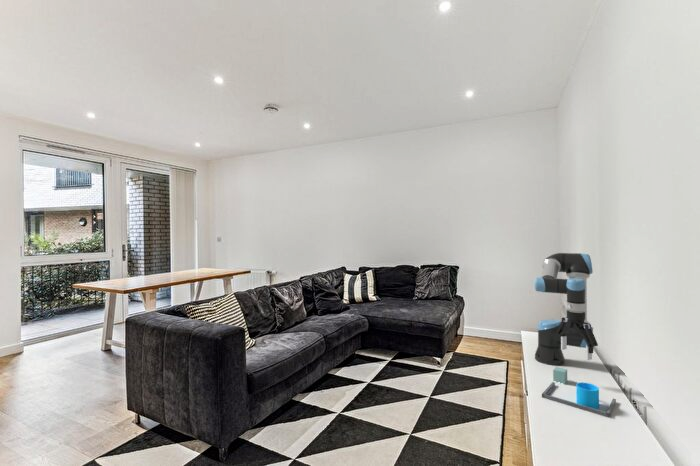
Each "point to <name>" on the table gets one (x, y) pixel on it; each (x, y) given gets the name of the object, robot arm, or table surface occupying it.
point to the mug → (587, 395)
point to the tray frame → (606, 414)
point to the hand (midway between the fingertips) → (576, 354)
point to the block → (560, 375)
